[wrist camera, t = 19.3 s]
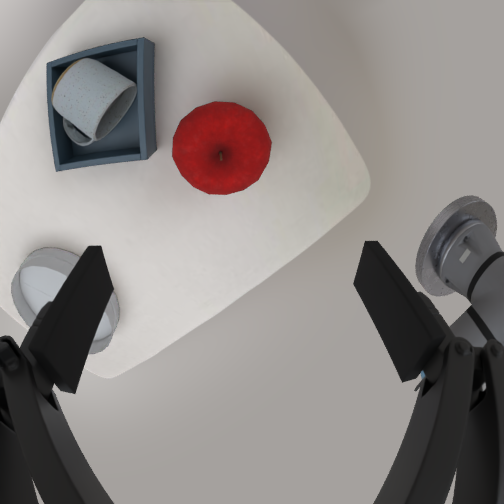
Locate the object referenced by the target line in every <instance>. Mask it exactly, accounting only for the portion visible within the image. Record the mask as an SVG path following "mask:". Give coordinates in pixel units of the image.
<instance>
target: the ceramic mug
mask: <svg viewBox="0 0 504 504" xmlns="http://www.w3.org/2000/svg"><path fill="white" fill-rule="evenodd" d="M136 94H137V84H136V83H134V82H133V81H131V80H129V79H127V78H126V77H124V76H123V75H121V74H119V73H118V72H116V71H114V70H112V69H110V68H109V67H107V66H106V65H104V64H102V63H100V62H99V61H96V60H93V59H90V58H83V59H80V60H78V61H76V62H74V63H73V64H71V65H70V66H69V67H68V68H67V69H66V70H65V71H64V72H63V73H62V74H61V76H60V77H59V79H58V80H57V82H56V84H55V86H54V89H53V92H52V98H51V99H52V105H53V106H54V108H55V109H56V110H57V112H58V113H59V114H61V115H62V116H63V126H64V129H65V131H66V133H67V135H68V136H69V137H70V139H71V140H72V141H74V142H75V143H76V144H78V145H81V146H86V145H89V144H91V143H93V142H94V141H98V140H101V139H102V138H104V137H105V136H106V135H107V134H108V133H109V132H110V131H111V130H112V129H113V128H114V127H115V126H116V125H117V124H118V123H119V122H120V120H121V119H122V117H123V116H124V115H125V113H126V112H127V111H128V109H129V107H130V106H131V104H132V102H133V101H134V99H135V96H136ZM73 124H74V125H75V126H76V127H77V128H79V129H80V130H81V131H82V132H84V133H85V134H86V135H87V136H89V137H90V138H91V139H90V138H86V137H84V136H83V135H82V134H81V133H80V132H79V131H77V130H76V128H74V126H73Z"/></svg>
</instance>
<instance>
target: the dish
mask: <svg viewBox="0 0 504 504" xmlns="http://www.w3.org/2000/svg"><path fill="white" fill-rule="evenodd" d="M79 259H80V257H79V256H77V255H75V254H73V253H71V252H68V251H65V250H62V249H58V248H42V249H39V250H36V251H34V252H33V253H32V254H30V255H29V256H28V257H27V258H26V260H25V261H24V262H23V263H22V264H21V266H20V269H19V270H18V272H17V273H16V274H15V276H14V278H13V281H12V286H11V293H12V297H13V301H14V304H15V306H16V308H17V310H18V312H19V314H20V316H21V317H22V318H23V320H24V321H25V322H26V324H27V325H28V326H29V327H31V326H32V323H33V322H34V320H35V319H36V316H37V314H38V313H39V311H40V309H41V308H42V307H43V306H44V305H45V304H46V303H47V302H48V301H53V300H54V298H55V296H56V295H57V293H58V291H59V290H60V288H61V287H62V285H63V283H64V282H65V280H66V279H67V277H68V275H69V274H70V272H71V271H72V269H73V268H74V266H75V265H76V263H77V262H78V260H79ZM118 320H119V305H118V301H117V297H116V295H115V293H114V291H113V293H112V295H111V297H110V300H109V302H108V304H107V307H106V309H105V311H104V314H103V316H102V319H101V321H100V324H99V326H98V329H97V332H96V334H95V337H94V339H93V342H92V345H91V348H90V350H89V353H88V354H95V353H98V352H101V351H103V350H104V349H105V348H106V347H108V345H109V343H110V341H111V339H112V336H113V333H114V331H115V329H116V327H117V323H118Z"/></svg>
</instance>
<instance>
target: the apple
mask: <svg viewBox="0 0 504 504" xmlns="http://www.w3.org/2000/svg"><path fill="white" fill-rule="evenodd" d="M271 144H272V142H271V139H270V137H269V134H268V132H267V129H266V127H265V125H264V123H263V122H262V121H261V120H260V119H259V118H258V117H257V116H256V115H255V113H254V112H253V111H252V110H249V109H247V108H245V107H243V106H241V105H238V104H236V103H232V102H216V101H215V102H212V103H209V104H206V105H203V106H200V107H197V108H195V109H194V110H193V111H191V112H190V113H189V114H188V115H187V116H185V117H184V118H183V119H182V120H181V121H180V123H179V125H178V128H177V130H176V132H175V134H174V137H173V148H172V157H173V159H174V161H175V163H176V165H177V167H178V169H179V171H180V173H181V175H182V176H183V177H184V178H185V179H186V180H187V181H188V182H189V183H190V184H191V185H192V186H193V187H195V188H197V189H199V190H201V191H203V192H205V193H207V194H217V195H227V194H231V193H235V192H238V191H242V190H244V189H246V188H247V187H249V186H250V185H252V184H253V183H255V182H256V181H258V180H259V178H260V176H261V174H262V173H263V171H264V169H265V167H266V166H267V164H268V162H269V158H270V151H271Z"/></svg>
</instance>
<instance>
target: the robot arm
mask: <svg viewBox="0 0 504 504" xmlns="http://www.w3.org/2000/svg"><path fill="white" fill-rule="evenodd" d="M437 274H438V277H439V279H440V280H441V281H442V282H443V283H444V285H446V286H447V287H449V288H451V289H452V290H454V291H456V292H458V293H459V294H461V295H463V296H465V297H466V298H467V299H468V300H469V301H470V303H471V304H472V305H471V306H470V307H469V308H468V309H467V310H466V311H465V312H464V313H463V314H462V315H461V316H460V317H459V318H458V319H457V320H456V321H455V322H454V323H453V324H452V325H451V326H450V327H449V326H448V325H447V323H446V322H445V320H444V319H443V317H442V316H441V315H440V314H439V312H438V310H437V309H436V308H435V306H434V305H433V303H432V302H431V300H430V299H429V298H428V297H427V296H426V295H424V294H423V293H422V292H417V291H416V290H415V289H414V287H413V286H412V285H411V283H410V282H409V281H408V279H407V278H406V276H405V275H404V274H403V273H402V271H401V270H400V269H399V267H398V266H397V265H396V264H395V262H394V261H393V260H392V258H391V257H390V256H389V255H388V253H387V252H386V251H385V250H384V248H383V247H382V246H381V245H380V243H379V242H378V241H365V243H364V247H363V250H362V255H361V258H360V262H359V265H358V269H357V273H356V276H355V280H354V283H353V284H354V286H355V288H356V290H357V292H358V294H359V295H360V297H361V299H362V301H363V303H364V305H365V307H366V309H367V311H368V313H369V315H370V317H371V318H372V320H373V322H374V324H375V326H376V328H377V330H378V332H379V334H380V336H381V338H382V340H383V342H384V345H385V347H386V349H387V351H388V353H389V355H390V357H391V359H392V361H393V363H394V366H395V368H396V370H397V372H398V374H399V376H400V379H401V381H402V382H405V381H409V380H412V379H416V378H417V377H418V375H419V374H420V373H421V377H422V381H421V382H420V383H419V384H418V385H417V387H416V388H415V390H414V391H417V390H418V389H419V387H420V390H419V394H418V397H417V400H416V404H415V407H414V410H413V413H412V416H411V419H410V422H409V425H408V428H407V431H406V433H405V436H404V439H403V441H402V444H401V447H400V449H399V451H398V454H397V456H396V458H395V461H394V463H393V465H392V467H391V470H390V472H389V474H388V476H387V478H386V480H385V482H384V484H383V486H382V488H381V490H380V492H379V494H378V496H377V498H376V500H375V501H374V503H373V504H444V503H445V501H446V498H447V495H448V493H449V490H450V487H451V484H452V481H453V478H454V475H455V471H456V468H457V471H456V481H455V489H454V497H453V502H452V504H504V252H503V251H502V250H501V248H500V246H499V245H498V243H497V241H496V239H495V237H494V236H493V234H492V232H491V230H490V229H489V228H488V226H487V225H485V224H484V223H483V222H482V221H480V220H477V219H474V220H469V221H467V222H465V223H464V224H462V225H461V226H460V227H458V228H457V229H456V230H455V231H454V232H453V234H452V235H451V236H450V237H449V239H448V240H447V242H446V243H445V245H444V247H443V249H442V251H441V253H440V256H439V259H438V263H437ZM113 290H114V288H113V285H112V281H111V278H110V275H109V272H108V268H107V265H106V261H105V258H104V254H103V251H102V247H101V246H88V247H87V249H86V250H85V252H84V253H83V254H82V256H81V257H80V259H79V260H78V262H77V263H76V265H75V266H74V268H73V269H72V271H71V272H70V274H69V275H68V277H67V279H66V280H65V282H64V283H63V285H62V287H61V288H60V290H59V291H58V293H57V295H56V296H55V298H54V300H53V301H48V302H47V303H46V304H45V305H44V306H43V307H42V308H41V309H40V311H39V313H38V314H37V316H36V319H35V320H34V322H33V323H32V326H31V327H30V329H29V331H28V333H27V335H26V336H25V338H24V340H23V342H22V344H21V347H20V348H19V346H18V345H17V344H16V342H15V341H14V339H13V338H12V337H11V336H2V337H0V504H39V503H38V500H37V496H36V492H35V489H34V485H33V481H34V483H35V486H36V488H37V490H38V492H39V494H40V496H41V498H42V500H43V502H44V504H114V503H113V501H112V500H111V499H110V497H109V496H108V494H107V493H106V491H105V490H104V488H103V487H102V485H101V484H100V482H99V481H98V479H97V477H96V476H95V474H94V473H93V471H92V469H91V467H90V466H89V464H88V462H87V460H86V459H85V457H84V455H83V453H82V452H81V450H80V448H79V446H78V444H77V442H76V440H75V438H74V436H73V434H72V432H71V430H70V428H69V425H68V423H67V421H66V419H65V416H64V414H63V412H62V409H61V407H60V405H59V402H58V400H57V397H56V394H55V393H54V391H53V390H52V388H53V385H54V383H55V385H56V386H57V387H58V388H59V389H60V391H64V392H68V393H73V394H75V393H76V390H77V387H78V383H79V380H80V377H81V374H82V371H83V368H84V365H85V362H86V359H87V356H88V353H89V350H90V348H91V345H92V342H93V339H94V337H95V334H96V332H97V329H98V326H99V324H100V321H101V319H102V316H103V314H104V311H105V309H106V307H107V304H108V302H109V300H110V297H111V295H112V293H113ZM32 479H33V481H32Z"/></svg>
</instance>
